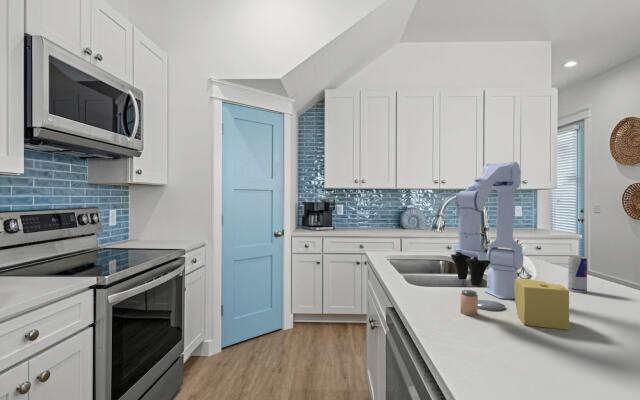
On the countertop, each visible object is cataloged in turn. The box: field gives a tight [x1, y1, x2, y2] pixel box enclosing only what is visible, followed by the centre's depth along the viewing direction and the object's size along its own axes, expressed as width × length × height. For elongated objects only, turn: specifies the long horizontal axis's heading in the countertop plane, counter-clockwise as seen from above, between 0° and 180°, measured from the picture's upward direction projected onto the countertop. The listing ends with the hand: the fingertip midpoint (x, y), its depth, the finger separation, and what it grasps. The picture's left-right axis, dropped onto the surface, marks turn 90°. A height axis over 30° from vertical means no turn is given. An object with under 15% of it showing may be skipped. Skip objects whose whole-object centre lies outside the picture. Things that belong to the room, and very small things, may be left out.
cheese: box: [514, 278, 570, 330], centre depth 92 cm, size 10×11×10 cm
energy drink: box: [567, 255, 588, 294], centre depth 124 cm, size 5×5×12 cm
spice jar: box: [460, 289, 479, 317], centre depth 98 cm, size 4×4×6 cm
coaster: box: [478, 299, 506, 312], centre depth 105 cm, size 9×9×1 cm
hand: (469, 282), depth 98 cm, fingers open, 7 cm apart
